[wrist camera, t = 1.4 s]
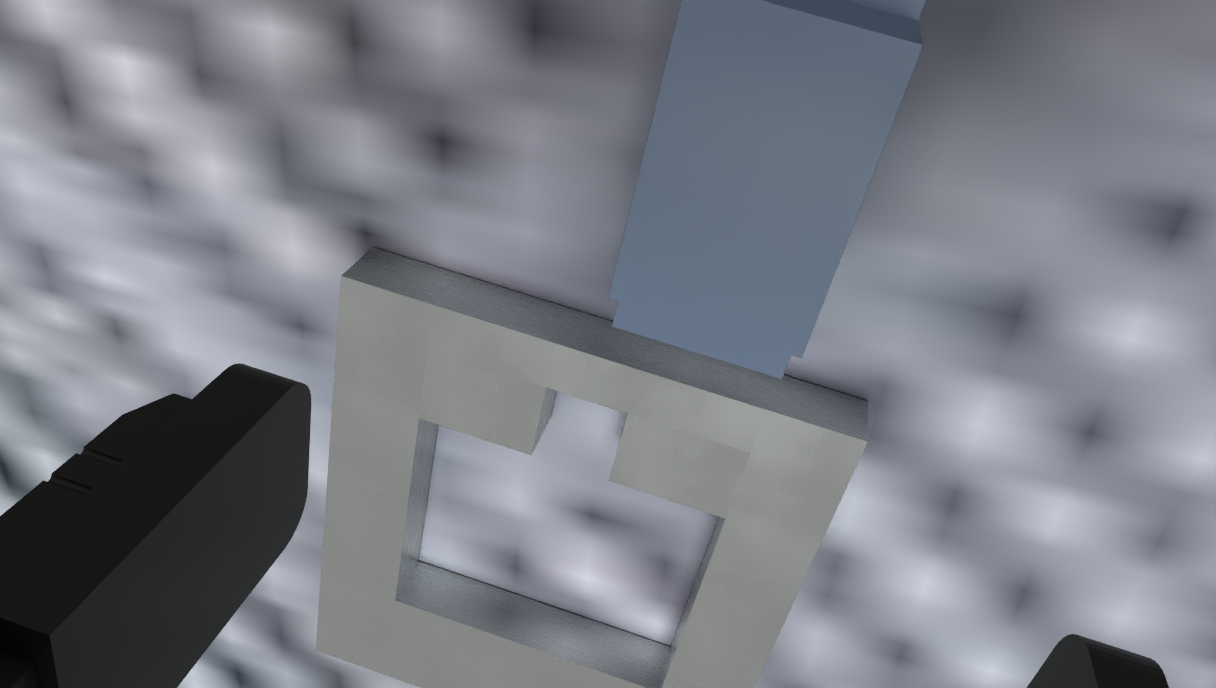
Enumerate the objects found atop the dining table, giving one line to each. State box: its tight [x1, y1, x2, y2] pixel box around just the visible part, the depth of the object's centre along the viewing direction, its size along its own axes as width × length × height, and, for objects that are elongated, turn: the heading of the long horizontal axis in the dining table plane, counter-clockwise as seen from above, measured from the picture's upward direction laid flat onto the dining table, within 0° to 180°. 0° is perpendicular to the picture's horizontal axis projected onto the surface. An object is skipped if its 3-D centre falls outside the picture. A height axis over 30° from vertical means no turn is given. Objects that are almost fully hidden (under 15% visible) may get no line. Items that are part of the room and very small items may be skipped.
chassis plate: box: [316, 247, 868, 688], centre depth 31 cm, size 16×15×2 cm
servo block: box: [608, 0, 926, 379], centre depth 21 cm, size 11×4×5 cm, turn 168°
